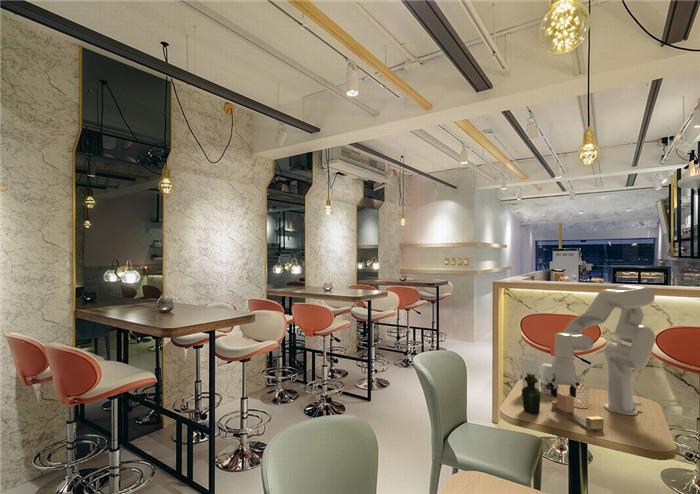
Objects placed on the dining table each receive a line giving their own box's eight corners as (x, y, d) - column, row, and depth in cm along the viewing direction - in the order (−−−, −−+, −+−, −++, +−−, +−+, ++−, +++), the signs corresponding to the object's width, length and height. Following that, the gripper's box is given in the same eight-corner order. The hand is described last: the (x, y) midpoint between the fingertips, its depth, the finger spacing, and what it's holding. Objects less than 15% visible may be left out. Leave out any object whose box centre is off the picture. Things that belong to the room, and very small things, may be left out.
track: (563, 408, 170) (563, 400, 170) (603, 431, 148) (603, 422, 148) (552, 408, 170) (551, 401, 170) (590, 431, 147) (590, 423, 147)
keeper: (564, 406, 168) (564, 392, 169) (573, 412, 162) (573, 396, 163) (556, 407, 168) (556, 392, 168) (566, 412, 162) (565, 397, 162)
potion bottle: (518, 410, 168) (517, 371, 169) (530, 407, 171) (529, 369, 172) (532, 417, 161) (532, 377, 161) (545, 414, 164) (544, 374, 165)
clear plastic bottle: (533, 397, 184) (533, 354, 185) (522, 393, 189) (521, 352, 190) (539, 394, 188) (538, 352, 189) (527, 390, 193) (527, 350, 194)
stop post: (599, 425, 150) (598, 416, 150) (603, 428, 147) (603, 418, 147) (586, 426, 149) (586, 416, 149) (590, 429, 146) (590, 419, 147)
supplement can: (544, 389, 196) (544, 361, 196) (560, 393, 189) (560, 365, 190) (538, 392, 191) (537, 364, 191) (554, 397, 184) (554, 368, 185)
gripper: (574, 357, 171) (574, 393, 170) (541, 357, 169) (541, 393, 168) (586, 362, 163) (586, 399, 163) (552, 361, 161) (551, 399, 160)
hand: (563, 396), depth 165 cm, fingers open, 9 cm apart
